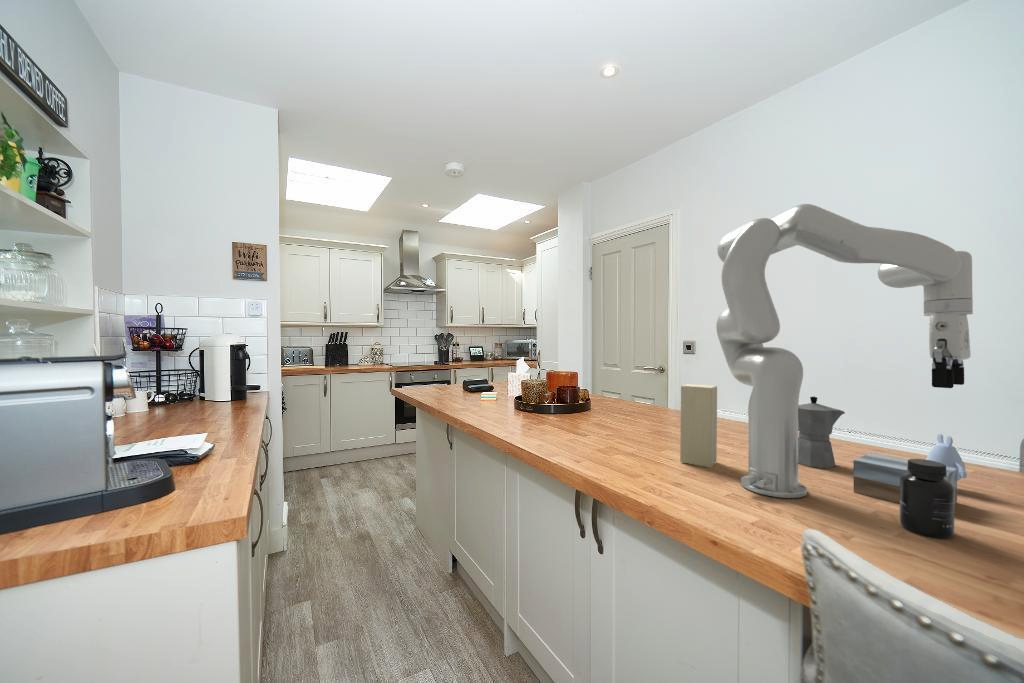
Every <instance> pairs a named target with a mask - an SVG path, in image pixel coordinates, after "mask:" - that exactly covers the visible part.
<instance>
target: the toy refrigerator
mask: <svg viewBox="0 0 1024 683" xmlns="http://www.w3.org/2000/svg"><path fill="white" fill-rule="evenodd" d="M717 429H718V386H717V385H712V384H711V385H709V384H697V383H696V384H694V383H686V384H683V385H681V386H680V442H679V444H680V445H679V446H680V447H679V448H680V449H679V450H680V453H679V455H680V457H679V458H680V460H679V462H680V463H681V462H683V463H682V464H686V463H689V464H688V465H692V464H694V465H693V466H697V465H700V466H699V467H703V466H706V467H705V468H709V467H711V468H712V467H713V466H714V465H715V464H716V463H717V454H718V453H717V447H718V446H717V444H718V442H717V440H718V439H717V437H718V434H717V433H718V430H717ZM715 462H716V463H715Z"/></svg>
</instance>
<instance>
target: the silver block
mask: <svg viewBox="0 0 1024 683" xmlns="http://www.w3.org/2000/svg"><path fill="white" fill-rule="evenodd" d="M908 460H909V459H906V458H900V457H895V456H894V457H893V456H890V455H889V456H888V455H883V454H878V453H872V452H869V453H867V454H864V455H862V456H859V457H858V458H855V459H853V493H855V492H856V494H860V495H863V496H867V497H872V498H875V497H876V499H880V500H885V501H887V502H893V503H895V504H900V478H901V477H902V476H903V475H904V474H907V473H909V471H908V470H907V467H908ZM946 473H947V477H945V479H946V480H948V481H949V482H950V483H951V484H952V485H953V486H954V489H955V505H957V503H958V481H957V468H952V467H946Z"/></svg>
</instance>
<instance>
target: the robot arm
mask: <svg viewBox="0 0 1024 683" xmlns="http://www.w3.org/2000/svg"><path fill="white" fill-rule="evenodd" d="M795 246H799V247H802V248H805V249H808V250H809V251H813V252H815V253H817V254H820V255H822V256H825V257H826V258H829V259H831V260H833V261H836V262H839V263H844V264H845V263H847V264H848V263H849V264H880V265H879V267H878V269H877V278H878V280H879V281H880V282H881V283H882V284H883V285H885V286H887V287H889V288H894V289H906V288H911V287H912V288H913V287H918V286H922V287H923V316H924V317H929V323H928V324H929V327H928V328H929V329H928V333H929V335H928V341H929V342H928V343H929V344H928V346H929V347H928V350H929V356H930V357H929V358H931V359H932V364H931V387H932V388H940V389H941V388H942V389H953V388H954V386H955V385H957V386H963V385H965V365H964V360H968V359H970V358H971V342H970V330H969V328H970V326H969V321H968V316H967V315H973V313H974V309H973V307H974V306H973V302H974V300H973V296H974V295H973V257H972V254H971V253H970V252H968V251H966V250H965V251H964V250H955V249H954V248H952V247H951V246H949V245H947V244H945V243H944V242H942V241H938V240H936V239H934V238H931V237H929V236H927V235H923V234H920V233H916V232H912V231H911V232H910V231H907V230H905V231H904V230H897V229H891V228H890V229H889V228H884V227H875V226H874V227H873V226H867V225H865V224H864V225H863V224H860V222H859V223H858V222H856V221H854V220H851V219H849V218H846V217H844V216H841V215H839V214H837V213H834V212H832V211H830V210H827V209H825V208H822V207H820V206H817V205H815V204H811V203H802V204H798V205H795V206H792V207H790V208H789V209H787V210H785V211H783V212H781V213H778V214H776V215H773V216H772V217H770V218H767V217H761V218H756V219H752V220H750V221H748V222H746V223H744V224H742V225H740V226H739V227H737V228H736V229H733V230H731V231H729V232H728V233H725V235H724V236H723V237H722V238H721V239H720V240H719V242H718V244H717V248H716V250H717V255H718V257H719V259H720V261H722V262H723V264H722V270H721V286H722V291H723V294H724V298H725V300H726V305H727V307H726V308H724V309H723V310H722V311H721V312H720V313H719V315H718V316H717V320H716V324H715V325H716V327H715V328H716V334H717V338H718V341H719V343H720V347H721V349H722V352H723V355H724V358H725V361H726V364H727V366H728V368H729V371H730V373H731V375H732V376H733V377H734V379H735V380H736V381H737V382H740V384H743V385H746V386H750V387H752V389H751V393H750V396H749V399H748V408H747V415H748V417H747V418H748V419H747V421H748V423H747V424H748V425H747V426H748V427H747V429H748V432H747V433H748V435H747V437H748V438H747V439H748V440H747V441H748V442H747V444H748V450H747V451H748V454H747V455H748V467H747V468H748V474H746V475H744V476H742V477H741V478H740V484H741V486H742V487H743V488H744V489H747V490H749V491H751V492H754V493H756V494H760V495H763V496H764V495H765V496H768V497H775V498H781V499H797V498H798V499H799V498H802V497H803V498H804V497H805V496H807V494H808V488H807V486H806V485H804V484H803V483H802V482H799V464H798V438H799V431H798V405H799V401H800V400H799V398H800V392H801V388H802V384H803V378H804V367H803V364H802V362H801V360H800V358H799V357H798V356H797V355H796V354H795V353H794V352H792V351H790V350H788V349H786V348H782V347H773V346H771V347H769V346H764V344H765V343H768V342H770V341H773V340H774V339H775V338H776V337H778V335H779V334H780V330H781V324H780V319H779V315H778V313H777V310H776V307H775V304H774V302H773V298H772V296H771V293H770V291H769V288H768V284H767V279H766V273H765V272H766V267H767V264H768V261H769V258H770V256H772V255H774V254H776V253H779V252H781V251H784V250H787V249H790V248H793V247H795Z"/></svg>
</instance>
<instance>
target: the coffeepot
mask: <svg viewBox="0 0 1024 683" xmlns="http://www.w3.org/2000/svg"><path fill="white" fill-rule="evenodd" d="M809 398H810V402H809V403H803V404H798V463H799V464H798V465H801V464H802V466H804V465H806V466H805V467H808V466H811V468H814V467H821V468H820V469H832V468H831V467H833V468H835V467H836V461H835V457H834V452H833V445H832V443H831V442H832V441H831V440H830V435H832V433H833V428H834V425H835V424H836V422H837V420H839V419H840V417H841V416H842V415H844V414H846V412H845V411H844V410H841V409H838V408H833V407H830V406H827V405H823V404H820V403H817V402H818V397H816V396H811V397H809ZM834 466H835V467H834Z"/></svg>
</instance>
